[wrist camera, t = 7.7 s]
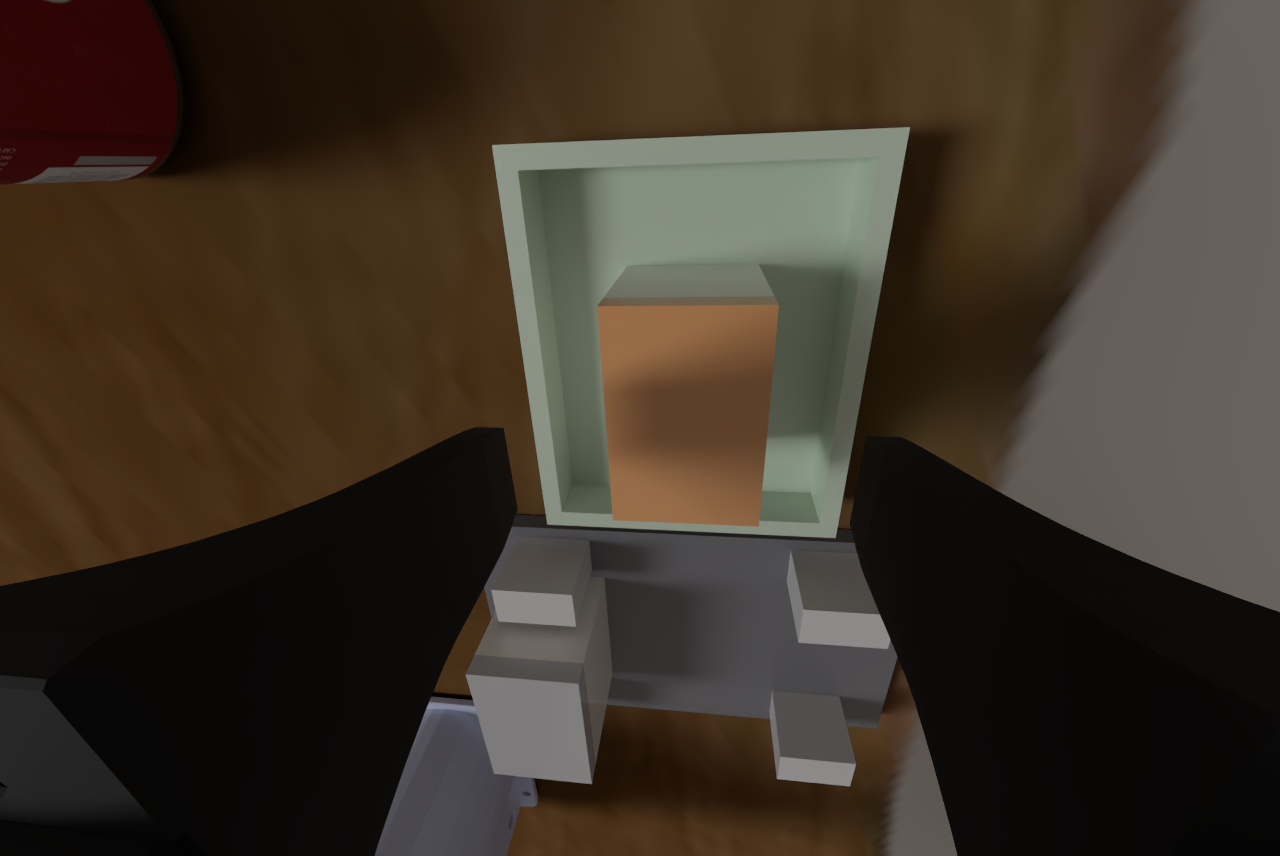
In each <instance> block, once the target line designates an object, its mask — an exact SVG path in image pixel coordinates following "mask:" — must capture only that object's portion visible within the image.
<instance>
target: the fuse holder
mask: <svg viewBox="0 0 1280 856" xmlns="http://www.w3.org/2000/svg"><path fill="white" fill-rule="evenodd" d="M590 577H602V578H604V579H605V591H606V602H607V614H608V625H609V637H610V648H611V660H612V671H613V672H612V678H611V683H610V689H609V694H608V699H607V705H617V706H629V707H640V708H651V709H663V710H674V711H685V712H697V713H708V714H719V715H731V716H742V717H753V718H764V719H770V722H771V731H772V740H773V749H774V758H775V766H776V775H777V779H782V780H792V781H802V782H811V783H821V784H831V785H841V786H850V784H851V781H852V777H853V774H854V770H855V766H856V762H855V758H854V754H853V750H852V746H851V742H850V737H849V733H848V729H847V726H855V727H866V728H877V726H878V722H879V719H880V716H881V712H882V709H883V705H884V702H885V698H886V695H887V692H888V688H889V685H890V681H891V678H892V674H893V671H894V668H895V664H896V661H897V654H896V652H895V650H894V647H893V645H892V642H891V640H890V638H889V635H888V633H887V630H886V628H885V626H884V623H883V621H882V618H881V616H880V614H879V611H878V609H877V606H876V604H875V601H874V599H873V597H872V594H871V592H870V589H869V587H868V584H867V582H866V579H865V577H864V574H863V572H862V569H861V566H860V562H859V558H858V555H857V551H856V547H855V543H854V539H853V534H852V530H846V529H837V533H836V538H822V537H801V536H780V535H759V534H737V533H716V532H695V531H674V530H652V529H631V528H610V527H589V526H568V525H547V519H546V516H536V515H515V518H514V521H513V524H512V527H511V531H510V533H509V536H508V539H507V541H506V544H505V547H504V549H503V551H502V553H501V555H500V557H499V559H498V561H497V563H496V565H495V567H494V569H493V571H492V573H491V575H490V577H489V579H488V581H487V583H486V584H485V586H484V588H485V592H486V596H487V601H488V605H489V609H490V614H491V618H492V617H493V615H494V613H495V611H496V613H497V618H498V621H499V622H514V623H528V624H542V625H556V626H570V627H576V625H577V622H578V618H579V615H580V611H581V608H582V604H583V600H584V597H585V593H586V590H587V586H588V583H589V579H590Z"/></svg>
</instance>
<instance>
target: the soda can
mask: <svg viewBox="0 0 1280 856" xmlns="http://www.w3.org/2000/svg"><path fill="white" fill-rule="evenodd" d="M183 106H184V101H183V89H182V82H181V76H180V72H179V67H178V63H177V60H176V56H175V53H174V50H173V47H172V44H171V42H170V39H169V36H168V34H167V32H166V29H165V27H164V25H163V23H162V20H161V19H160V17H159V15H158V13H157V11H156V9H155V7H154V5H153V4H152V2H151V0H0V184H28V183H57V182H86V181H115V180H131V179H136V178H140V177H143V176H146V175H148V174H150V173H152V172H154V171H155V170H157V169H158V168H159V167H161V166H162V165H163V164H164V163H165V162H166V161H167V159H168V158H169V156H170V155H171V154H172V152H173V150H174V148H175V146H176V144H177V141H178V138H179V136H180V132H181V127H182V121H183Z"/></svg>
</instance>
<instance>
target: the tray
mask: <svg viewBox="0 0 1280 856" xmlns="http://www.w3.org/2000/svg"><path fill="white" fill-rule="evenodd" d="M909 130H910V127H903V128H880V129H857V130H833V131H810V132H787V133H764V134H740V135H717V136H694V137H670V138H647V139H624V140H601V141H577V142H554V143H531V144H507V145H492V149H493V155H494V162H495V169H496V176H497V183H498V190H499V197H500V203H501V210H502V217H503V224H504V231H505V238H506V245H507V251H508V258H509V265H510V272H511V279H512V286H513V293H514V299H515V306H516V313H517V320H518V327H519V334H520V341H521V347H522V354H523V361H524V368H525V375H526V382H527V389H528V395H529V402H530V409H531V416H532V423H533V430H534V437H535V443H536V450H537V457H538V464H539V471H540V478H541V485H542V492H543V498H544V505H545V512H546V519H547V525H568V526H589V527H610V528H631V529H652V530H674V531H695V532H716V533H737V534H759V535H780V536H801V537H822V538H836V533H837V528H838V522H839V517H840V511H841V506H842V500H843V495H844V489H845V484H846V478H847V472H848V467H849V461H850V456H851V450H852V445H853V439H854V434H855V428H856V423H857V417H858V412H859V406H860V401H861V395H862V390H863V384H864V379H865V373H866V368H867V362H868V357H869V351H870V346H871V340H872V335H873V329H874V324H875V318H876V313H877V307H878V301H879V296H880V290H881V285H882V279H883V274H884V268H885V263H886V257H887V252H888V246H889V241H890V235H891V230H892V224H893V219H894V213H895V208H896V202H897V197H898V191H899V186H900V180H901V175H902V169H903V164H904V158H905V153H906V147H907V141H908V136H909ZM710 264H759V266H760V268H761V270H762V272H763V274H764V276H765V278H766V280H767V282H768V284H769V286H770V288H771V290H772V292H773V294H774V296H775V298H776V300H777V302H778V304H779V310H778V321H777V332H776V343H775V354H774V365H773V377H772V388H771V399H770V410H769V421H768V432H767V443H766V454H765V465H764V476H763V488H762V499H761V510H760V521H759V527H756V526H733V525H711V524H688V523H665V522H642V521H619V520H613V515H612V501H611V488H610V474H609V461H608V447H607V434H606V420H605V407H604V393H603V380H602V366H601V353H600V339H599V326H598V312H597V306H598V304H599V303H600V302H601V300H602V299H603V298H604V296H605V295H606V294H607V292H608V291H609V290H610V288H611V287H612V286H613V284H614V283H615V282H616V280H617V279H618V278H619V276H620V275H621V274H622V272H623V271H624V270H625V268H626V267H627V266H646V265H710Z"/></svg>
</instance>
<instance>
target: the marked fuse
mask: <svg viewBox="0 0 1280 856" xmlns="http://www.w3.org/2000/svg"><path fill="white" fill-rule="evenodd" d="M778 310H779V304H778V302H777V300H776V298H775V296H774V294H773V292H772V290H771V288H770V286H769V284H768V282H767V280H766V278H765V276H764V274H763V272H762V270H761V268H760V266H759V264H710V265H646V266H627V267H626V268H625V270H624V271H623V272H622V274H621V275H620V276H619V278H618V279H617V280H616V282H615V283H614V284H613V286H612V287H611V288H610V290H609V291H608V292H607V294H606V295H605V296H604V298H603V299H602V300H601V302H600V303H599V304H598V306H597V312H598V326H599V339H600V353H601V366H602V380H603V393H604V407H605V420H606V434H607V447H608V461H609V474H610V488H611V501H612V515H613V520H619V521H642V522H665V523H688V524H711V525H733V526H756V527H759V521H760V510H761V499H762V488H763V476H764V465H765V454H766V443H767V432H768V421H769V410H770V399H771V388H772V377H773V365H774V354H775V343H776V332H777V321H778Z"/></svg>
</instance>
